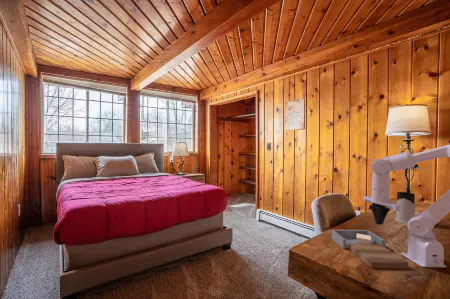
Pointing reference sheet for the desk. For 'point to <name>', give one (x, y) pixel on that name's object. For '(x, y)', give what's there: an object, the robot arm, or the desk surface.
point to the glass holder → (405, 206)
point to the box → (353, 237)
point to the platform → (377, 256)
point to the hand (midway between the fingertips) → (379, 223)
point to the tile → (363, 239)
